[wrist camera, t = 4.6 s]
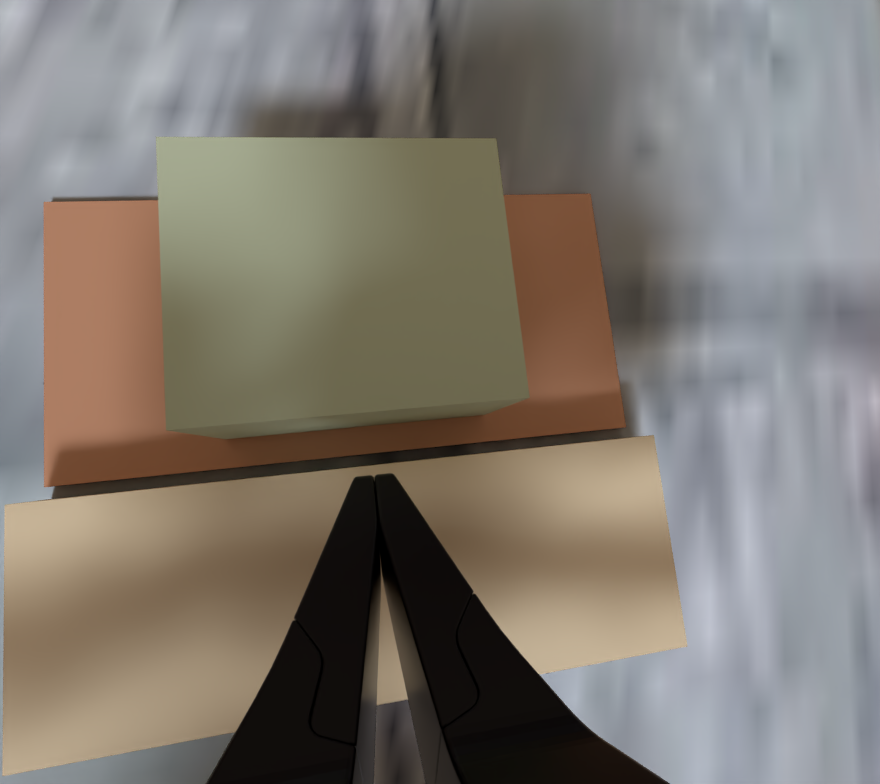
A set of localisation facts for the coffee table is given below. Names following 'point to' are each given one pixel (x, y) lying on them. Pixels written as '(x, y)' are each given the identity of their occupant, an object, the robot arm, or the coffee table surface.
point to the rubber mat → (167, 452)
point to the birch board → (286, 578)
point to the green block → (334, 283)
